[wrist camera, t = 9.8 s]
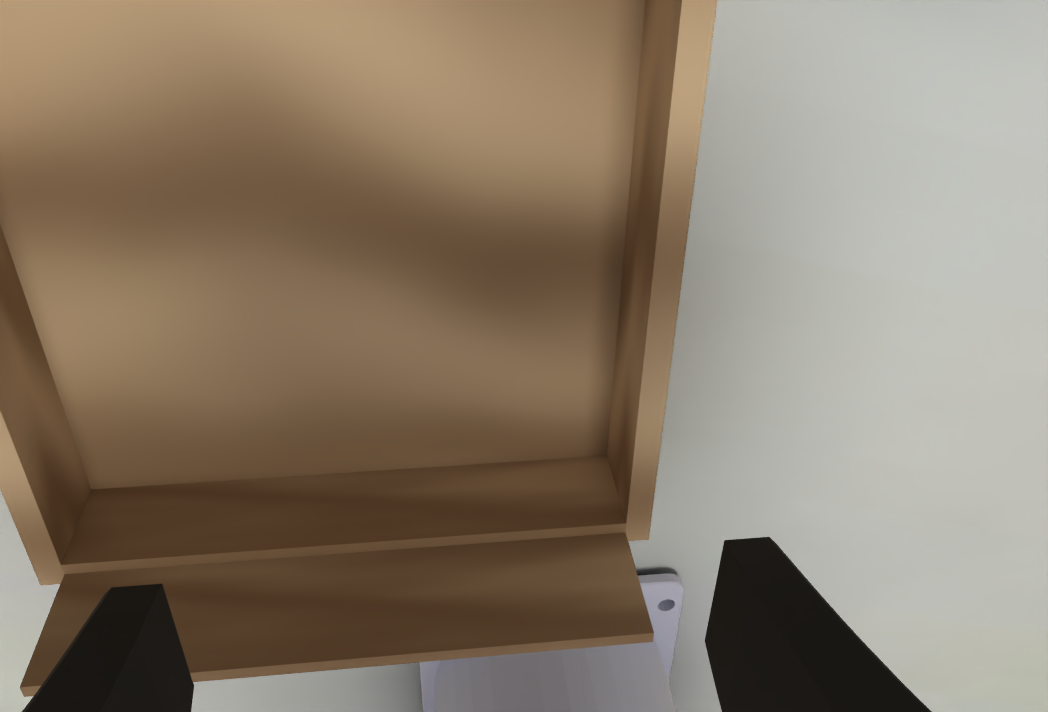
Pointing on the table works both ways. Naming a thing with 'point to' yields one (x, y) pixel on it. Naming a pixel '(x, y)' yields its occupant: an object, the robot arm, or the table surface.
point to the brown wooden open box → (343, 316)
